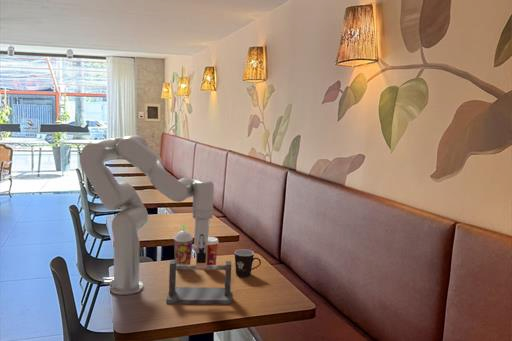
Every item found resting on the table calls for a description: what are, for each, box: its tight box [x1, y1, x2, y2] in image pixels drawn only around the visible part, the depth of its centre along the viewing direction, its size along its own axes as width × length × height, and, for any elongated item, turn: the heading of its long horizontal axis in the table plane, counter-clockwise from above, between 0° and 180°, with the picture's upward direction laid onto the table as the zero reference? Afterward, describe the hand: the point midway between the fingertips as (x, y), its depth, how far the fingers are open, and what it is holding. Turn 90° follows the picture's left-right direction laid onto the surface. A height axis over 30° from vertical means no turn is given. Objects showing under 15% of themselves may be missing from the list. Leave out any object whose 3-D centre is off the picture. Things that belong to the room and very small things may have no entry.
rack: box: [166, 259, 232, 305], centre depth 164 cm, size 24×11×14 cm, turn 95°
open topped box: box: [195, 244, 208, 268], centre depth 163 cm, size 4×5×8 cm
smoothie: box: [173, 223, 194, 271], centre depth 192 cm, size 8×8×20 cm
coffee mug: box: [234, 248, 262, 278], centre depth 188 cm, size 12×9×10 cm
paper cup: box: [204, 236, 219, 272], centre depth 193 cm, size 8×8×14 cm
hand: (201, 259), depth 163 cm, fingers closed on open topped box, 5 cm apart
